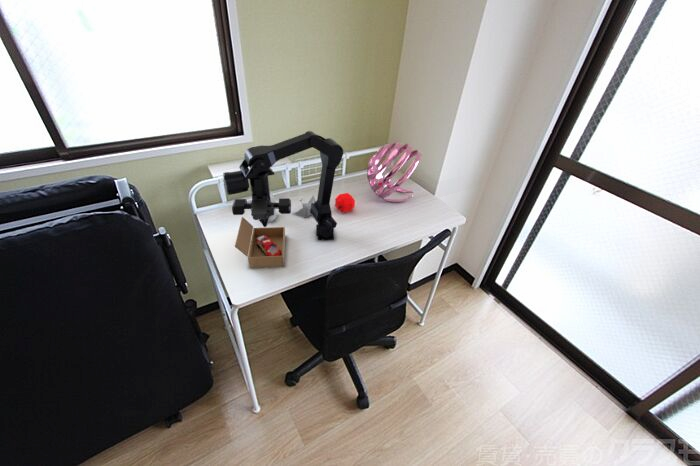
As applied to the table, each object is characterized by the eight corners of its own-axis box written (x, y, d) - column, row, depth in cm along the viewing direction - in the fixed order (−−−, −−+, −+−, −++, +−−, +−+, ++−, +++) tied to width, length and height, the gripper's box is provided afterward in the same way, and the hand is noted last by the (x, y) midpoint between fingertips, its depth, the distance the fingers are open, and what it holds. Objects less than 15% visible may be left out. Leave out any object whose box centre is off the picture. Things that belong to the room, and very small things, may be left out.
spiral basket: (445, 158, 144) (403, 119, 138) (429, 197, 128) (381, 154, 123) (407, 185, 167) (370, 152, 161) (389, 221, 151) (347, 186, 145)
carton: (283, 266, 109) (282, 256, 106) (249, 268, 107) (247, 257, 104) (285, 236, 122) (284, 226, 119) (255, 237, 120) (253, 227, 117)
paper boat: (300, 220, 129) (287, 206, 132) (305, 225, 135) (291, 212, 138) (320, 200, 131) (306, 187, 134) (324, 206, 137) (310, 193, 140)
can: (272, 224, 128) (269, 200, 120) (255, 221, 129) (251, 197, 121) (279, 214, 133) (277, 191, 126) (263, 211, 134) (260, 188, 127)
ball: (333, 206, 141) (333, 192, 136) (349, 203, 144) (350, 189, 139) (339, 216, 136) (340, 201, 131) (356, 213, 138) (357, 198, 134)
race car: (284, 257, 112) (283, 249, 110) (271, 263, 109) (270, 255, 107) (267, 238, 120) (266, 230, 117) (254, 243, 117) (253, 235, 114)
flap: (235, 246, 101) (234, 246, 101) (247, 256, 104) (247, 256, 104) (242, 216, 113) (241, 217, 113) (253, 226, 117) (252, 226, 117)
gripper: (224, 202, 90) (233, 242, 100) (289, 201, 93) (291, 240, 102) (231, 183, 99) (239, 221, 108) (289, 182, 101) (292, 220, 111)
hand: (265, 226), depth 107 cm, fingers closed
